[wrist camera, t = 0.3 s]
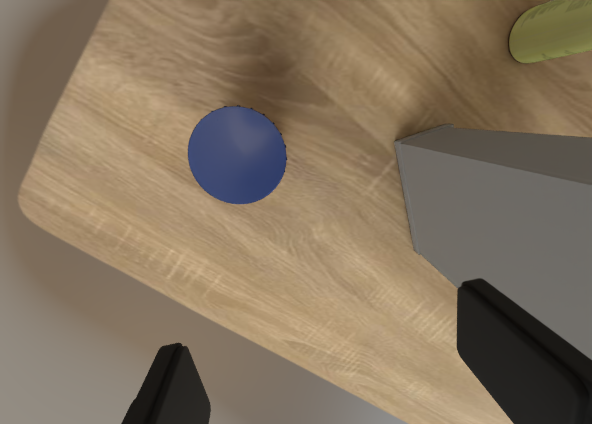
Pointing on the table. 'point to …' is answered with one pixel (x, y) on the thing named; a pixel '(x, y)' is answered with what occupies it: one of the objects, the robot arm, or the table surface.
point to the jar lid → (237, 155)
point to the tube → (552, 31)
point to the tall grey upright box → (507, 217)
